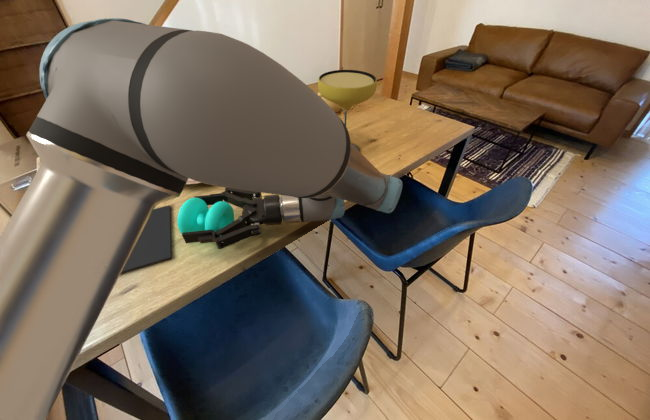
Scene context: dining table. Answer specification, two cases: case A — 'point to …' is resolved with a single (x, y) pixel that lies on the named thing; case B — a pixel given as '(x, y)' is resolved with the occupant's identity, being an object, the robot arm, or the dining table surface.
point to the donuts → (204, 216)
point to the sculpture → (330, 103)
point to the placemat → (152, 241)
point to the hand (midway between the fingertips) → (190, 218)
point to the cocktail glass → (347, 88)
